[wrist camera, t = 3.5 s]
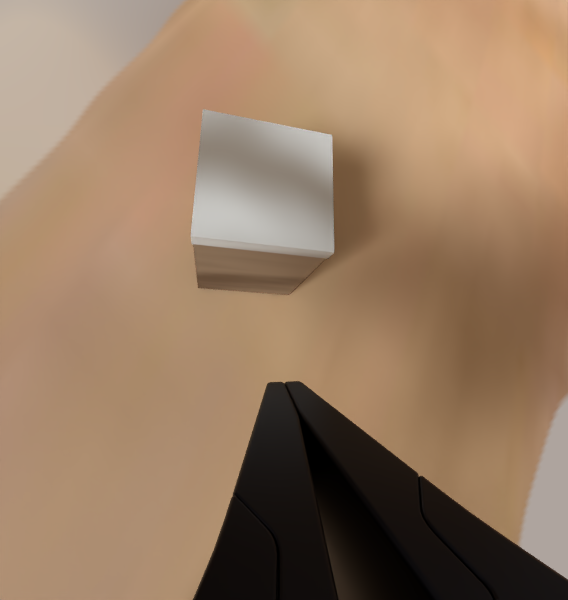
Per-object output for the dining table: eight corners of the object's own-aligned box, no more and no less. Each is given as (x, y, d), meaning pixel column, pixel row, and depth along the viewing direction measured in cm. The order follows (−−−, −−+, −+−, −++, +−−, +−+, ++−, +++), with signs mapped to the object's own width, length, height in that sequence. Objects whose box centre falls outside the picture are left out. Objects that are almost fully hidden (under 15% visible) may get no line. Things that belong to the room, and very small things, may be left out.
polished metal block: (289, 295, 21) (334, 252, 14) (197, 288, 20) (190, 236, 13) (290, 214, 23) (332, 135, 15) (204, 203, 22) (203, 109, 14)
